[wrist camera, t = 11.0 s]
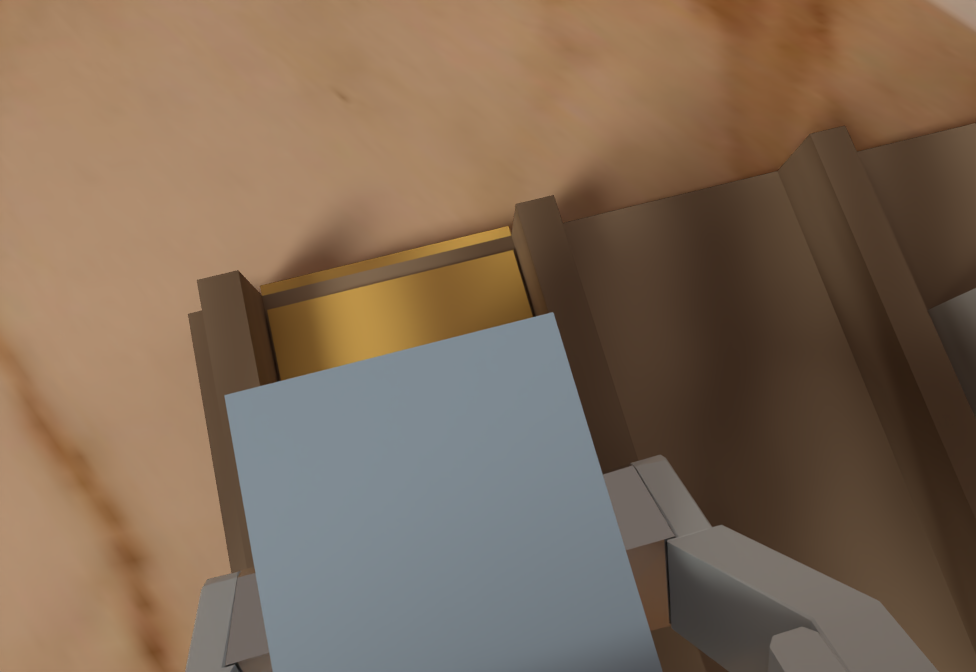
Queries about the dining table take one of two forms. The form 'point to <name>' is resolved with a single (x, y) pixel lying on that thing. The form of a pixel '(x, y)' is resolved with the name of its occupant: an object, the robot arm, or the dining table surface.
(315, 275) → the rack
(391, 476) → the grey rectangular block
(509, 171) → the dining table surface
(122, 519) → the dining table surface
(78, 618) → the dining table surface
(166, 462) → the dining table surface
